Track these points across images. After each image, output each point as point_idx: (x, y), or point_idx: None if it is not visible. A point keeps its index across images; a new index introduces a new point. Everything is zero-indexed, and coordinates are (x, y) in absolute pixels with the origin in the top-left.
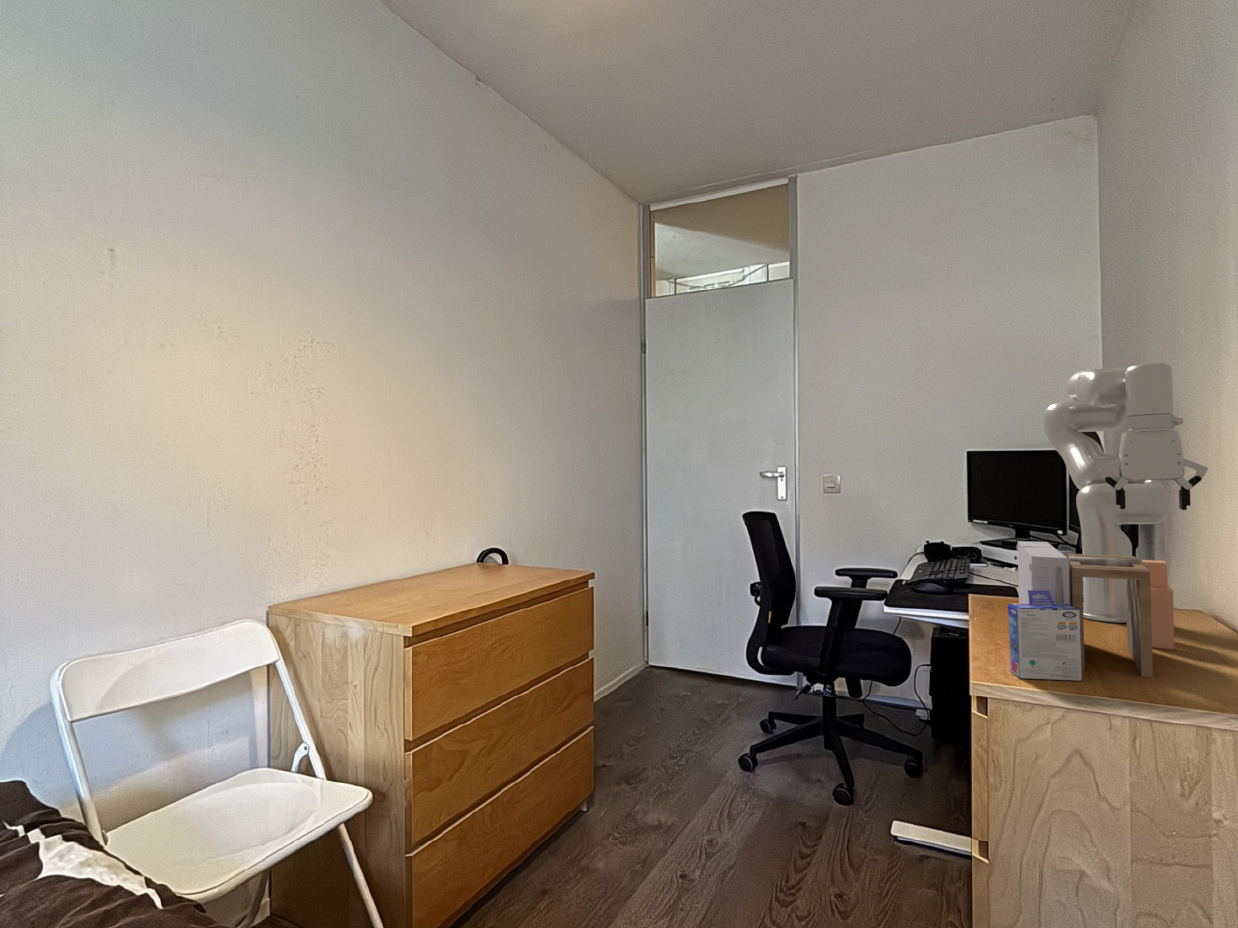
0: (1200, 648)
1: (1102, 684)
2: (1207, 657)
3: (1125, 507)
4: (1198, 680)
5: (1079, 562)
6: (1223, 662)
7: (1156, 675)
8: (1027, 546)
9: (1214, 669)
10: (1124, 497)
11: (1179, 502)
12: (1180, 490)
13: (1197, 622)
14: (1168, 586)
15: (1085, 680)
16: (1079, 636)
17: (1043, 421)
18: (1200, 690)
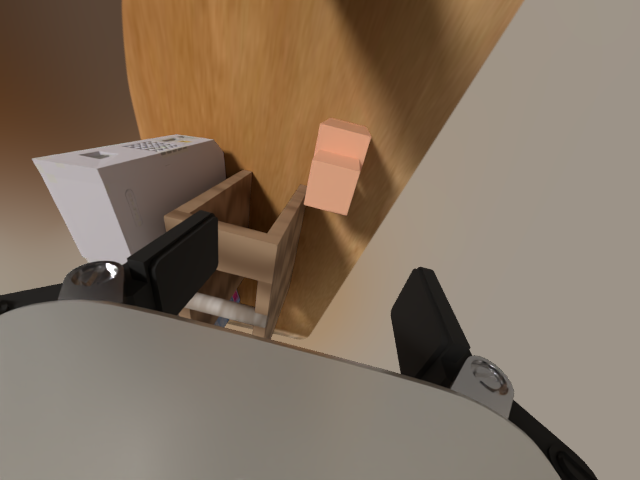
0: (383, 171)
1: (252, 303)
2: (367, 214)
3: (215, 269)
4: (320, 286)
5: (190, 316)
6: (372, 231)
7: (294, 279)
8: (92, 258)
9: (349, 255)
10: (187, 298)
11: (417, 292)
12: (416, 372)
13: None
14: (359, 174)
15: (243, 296)
16: (224, 326)
17: None
18: (311, 305)
